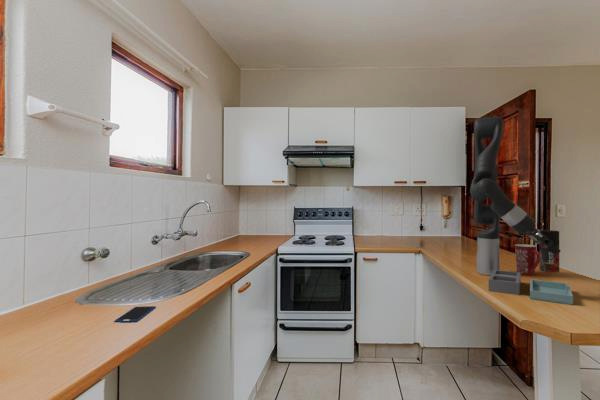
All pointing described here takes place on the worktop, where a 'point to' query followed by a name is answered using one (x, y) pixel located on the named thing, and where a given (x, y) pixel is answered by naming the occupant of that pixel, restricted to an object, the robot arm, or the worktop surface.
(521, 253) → the mug
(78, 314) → the worktop surface
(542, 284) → the tray
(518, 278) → the holder
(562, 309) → the worktop surface
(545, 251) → the deodorant
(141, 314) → the cell phone
